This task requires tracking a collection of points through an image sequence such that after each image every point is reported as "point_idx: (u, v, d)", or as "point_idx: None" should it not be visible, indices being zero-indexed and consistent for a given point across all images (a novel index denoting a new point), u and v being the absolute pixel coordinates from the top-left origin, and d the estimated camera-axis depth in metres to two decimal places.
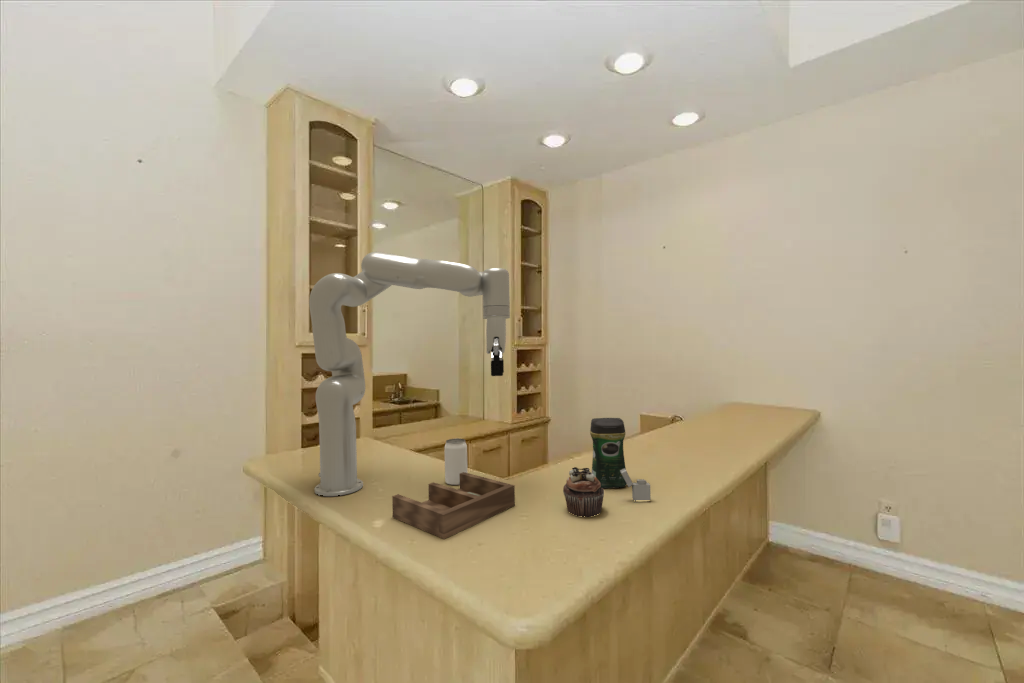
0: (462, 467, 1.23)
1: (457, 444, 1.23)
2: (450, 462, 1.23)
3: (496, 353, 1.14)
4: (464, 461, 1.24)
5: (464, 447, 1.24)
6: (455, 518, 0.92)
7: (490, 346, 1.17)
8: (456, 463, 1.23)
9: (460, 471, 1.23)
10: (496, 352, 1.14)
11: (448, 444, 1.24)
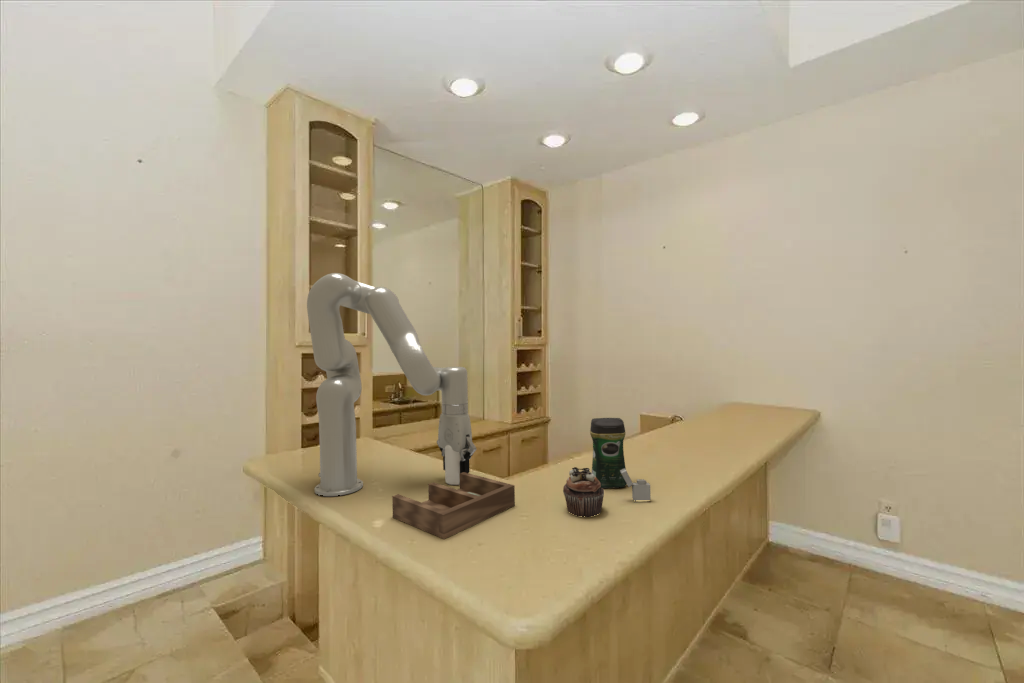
0: None
1: None
2: (450, 462, 1.23)
3: (471, 454, 1.22)
4: None
5: (464, 447, 1.24)
6: (455, 518, 0.92)
7: (462, 447, 1.22)
8: (456, 463, 1.23)
9: None
10: (472, 453, 1.22)
11: None
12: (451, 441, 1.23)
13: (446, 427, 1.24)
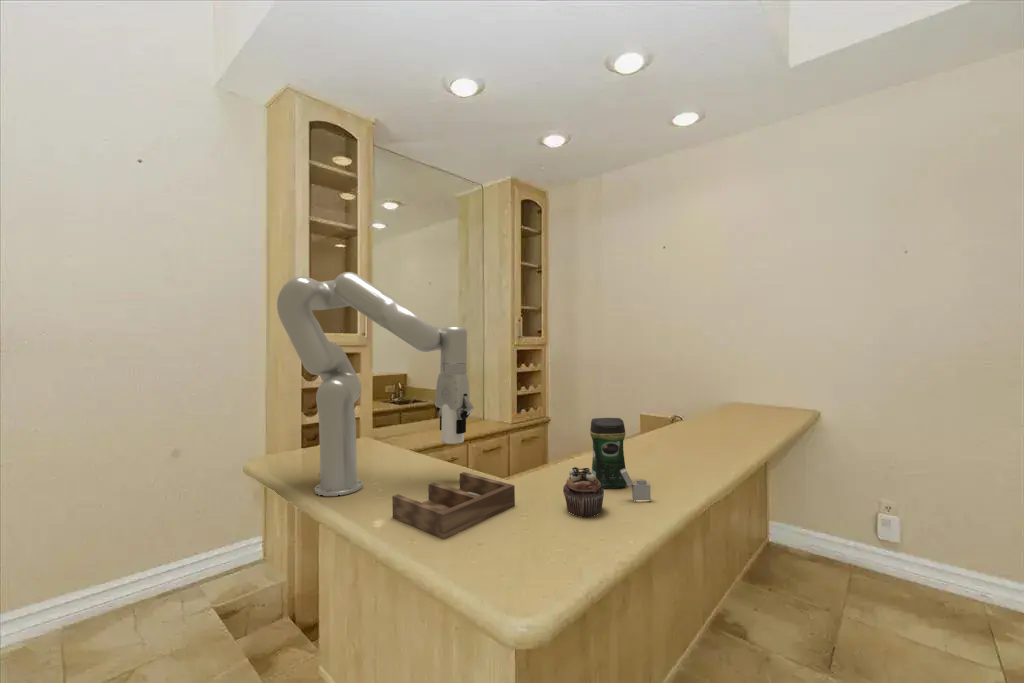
0: None
1: None
2: (447, 421, 1.23)
3: (468, 413, 1.22)
4: None
5: (461, 407, 1.24)
6: (455, 518, 0.92)
7: (460, 406, 1.21)
8: (453, 422, 1.23)
9: None
10: (469, 412, 1.22)
11: None
12: (448, 400, 1.23)
13: (444, 386, 1.24)
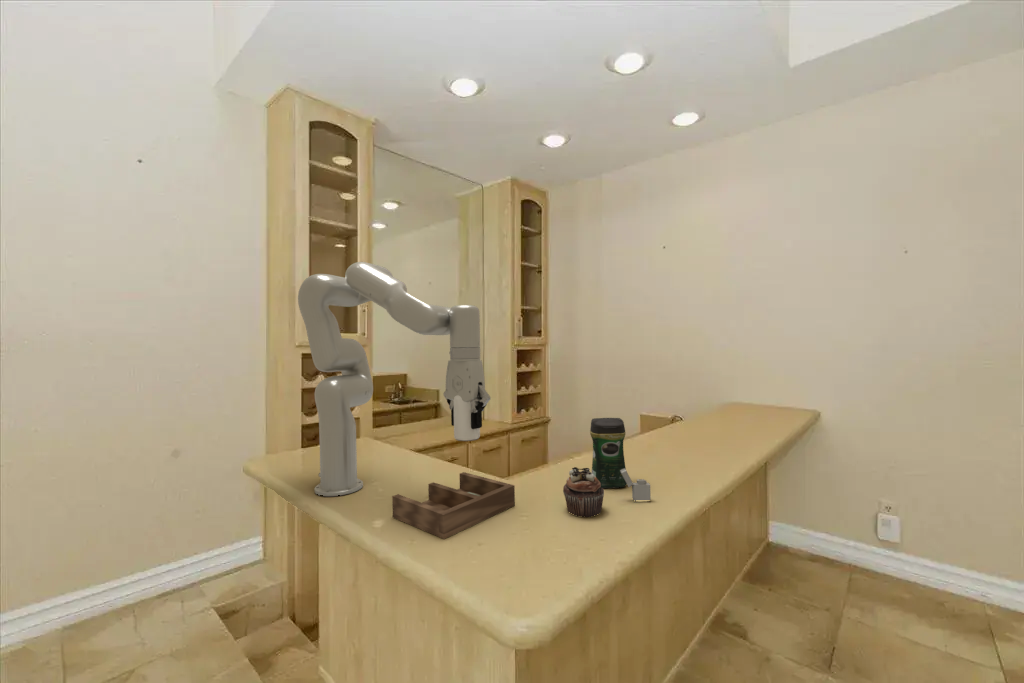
0: None
1: None
2: (460, 414, 1.06)
3: (484, 404, 1.05)
4: None
5: (476, 397, 1.07)
6: (455, 518, 0.92)
7: None
8: (467, 415, 1.06)
9: None
10: (485, 404, 1.05)
11: None
12: (461, 390, 1.06)
13: (455, 374, 1.07)
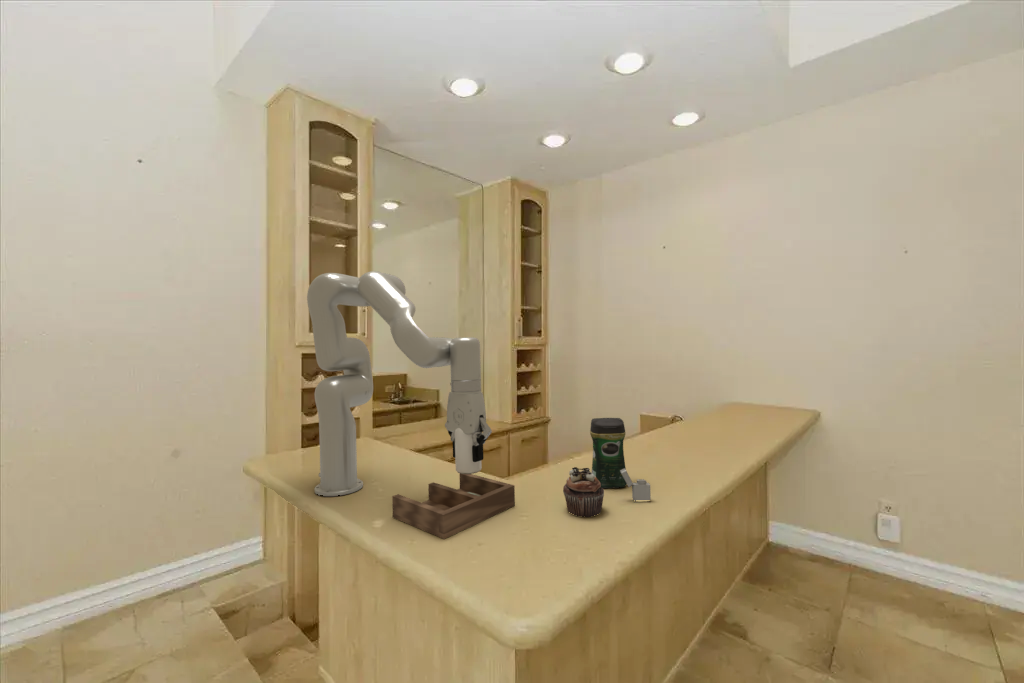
0: None
1: None
2: (462, 447, 1.06)
3: (486, 438, 1.05)
4: None
5: None
6: (455, 518, 0.92)
7: None
8: (469, 448, 1.06)
9: None
10: (486, 437, 1.05)
11: None
12: (462, 423, 1.06)
13: (456, 407, 1.07)
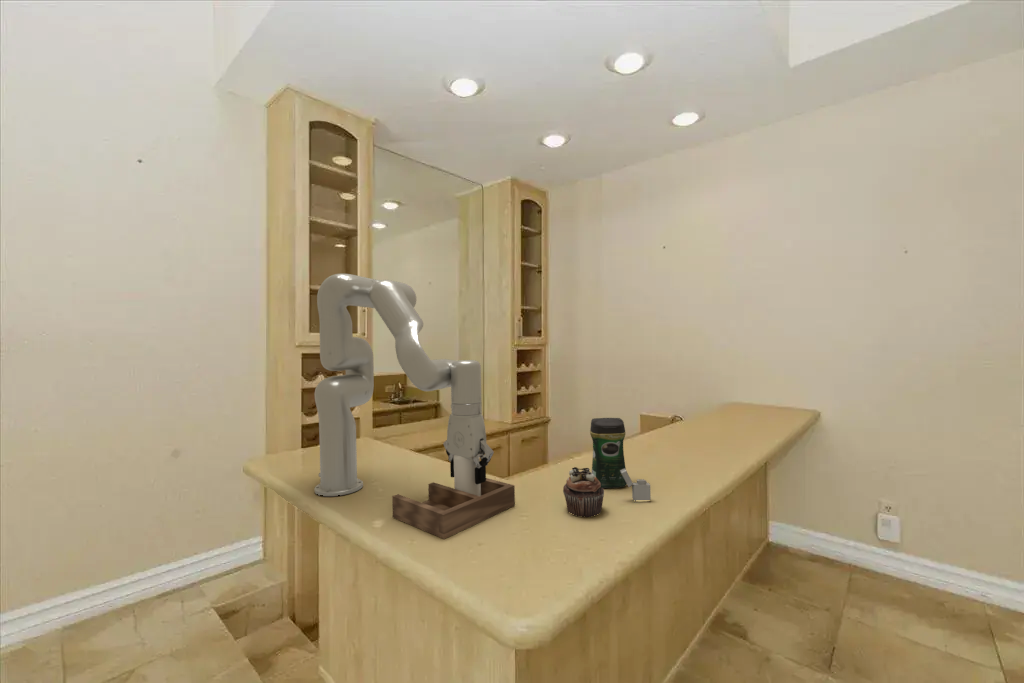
0: None
1: None
2: (461, 475, 1.06)
3: (488, 459, 1.04)
4: None
5: None
6: (455, 518, 0.92)
7: (476, 451, 1.04)
8: (468, 476, 1.06)
9: (472, 485, 1.06)
10: (489, 458, 1.04)
11: None
12: (462, 446, 1.06)
13: (456, 430, 1.07)
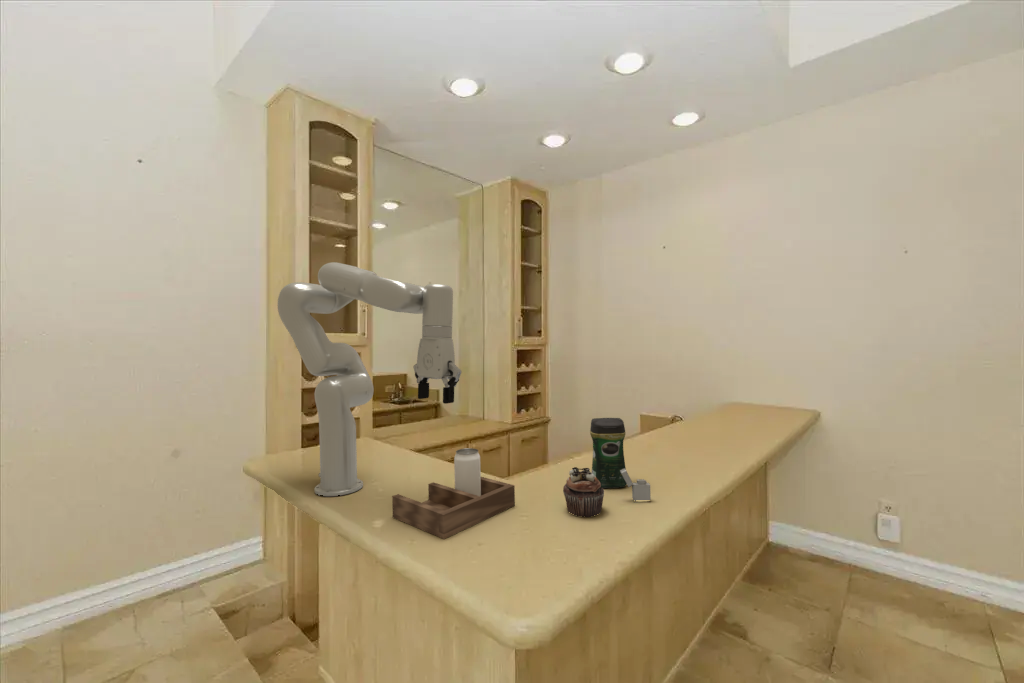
0: (475, 482, 1.06)
1: (469, 455, 1.06)
2: (461, 476, 1.06)
3: (457, 379, 1.06)
4: (477, 474, 1.07)
5: (477, 458, 1.07)
6: (455, 518, 0.92)
7: (444, 371, 1.06)
8: (468, 477, 1.06)
9: (473, 487, 1.06)
10: (457, 378, 1.06)
11: (459, 455, 1.07)
12: (431, 367, 1.08)
13: (426, 352, 1.09)
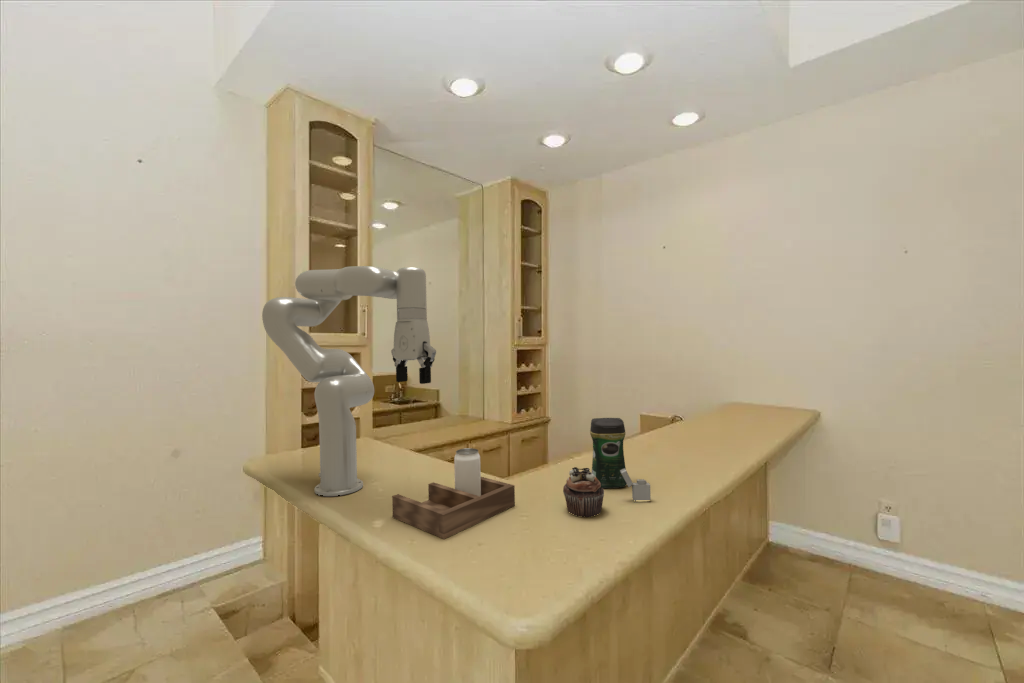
0: (475, 482, 1.06)
1: (469, 455, 1.06)
2: (461, 476, 1.06)
3: (432, 359, 1.07)
4: (477, 474, 1.07)
5: (477, 458, 1.07)
6: (455, 518, 0.92)
7: (420, 352, 1.08)
8: (468, 477, 1.06)
9: (473, 487, 1.06)
10: (432, 358, 1.07)
11: (459, 455, 1.07)
12: (406, 349, 1.09)
13: (401, 334, 1.11)
